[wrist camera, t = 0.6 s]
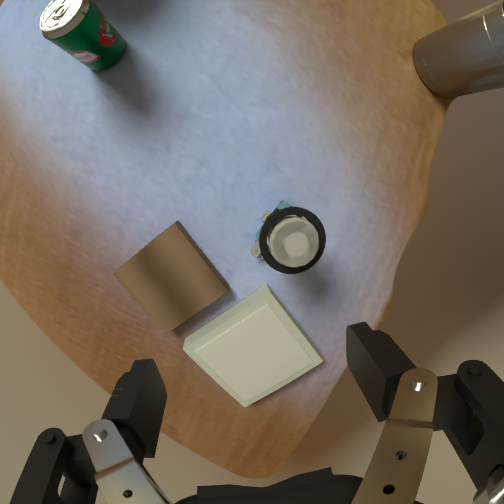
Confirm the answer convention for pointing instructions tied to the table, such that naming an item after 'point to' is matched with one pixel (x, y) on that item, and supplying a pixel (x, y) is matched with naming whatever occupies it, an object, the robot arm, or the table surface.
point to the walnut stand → (172, 278)
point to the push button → (290, 239)
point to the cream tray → (253, 347)
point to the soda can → (82, 33)
